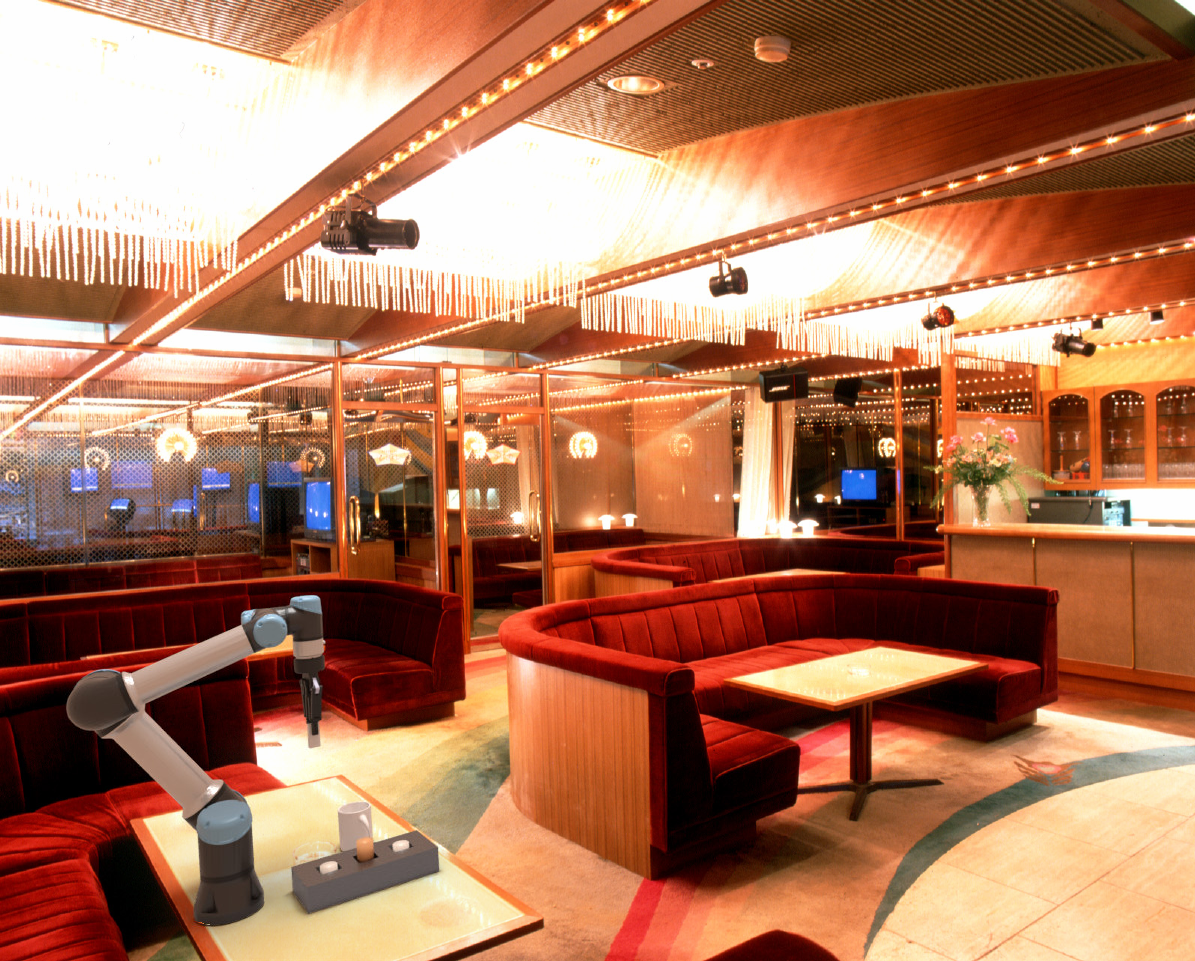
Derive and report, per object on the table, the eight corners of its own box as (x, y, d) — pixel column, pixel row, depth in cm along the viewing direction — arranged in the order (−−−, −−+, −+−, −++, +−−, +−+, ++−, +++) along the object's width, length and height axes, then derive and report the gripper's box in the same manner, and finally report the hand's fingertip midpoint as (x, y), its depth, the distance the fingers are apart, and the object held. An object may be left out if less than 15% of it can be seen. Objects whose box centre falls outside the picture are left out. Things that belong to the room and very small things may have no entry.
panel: (308, 913, 193) (306, 887, 193) (292, 891, 204) (291, 866, 204) (439, 871, 211) (438, 846, 211) (418, 852, 222) (416, 830, 222)
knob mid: (360, 865, 205) (359, 845, 205) (355, 860, 208) (354, 840, 208) (376, 861, 207) (375, 840, 207) (371, 855, 210) (369, 835, 210)
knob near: (323, 891, 200) (322, 870, 200) (319, 885, 203) (317, 864, 203) (340, 886, 202) (339, 865, 202) (335, 880, 205) (334, 859, 205)
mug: (355, 859, 220) (353, 818, 221) (334, 847, 229) (332, 808, 229) (385, 848, 226) (382, 808, 226) (363, 837, 235) (361, 798, 235)
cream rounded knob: (397, 868, 210) (395, 848, 210) (391, 862, 213) (390, 843, 213) (412, 863, 212) (411, 843, 212) (406, 858, 215) (405, 838, 215)
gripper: (330, 656, 216) (336, 748, 216) (316, 650, 227) (322, 738, 227) (300, 661, 212) (306, 755, 212) (287, 654, 223) (293, 744, 223)
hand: (314, 746), depth 219 cm, fingers closed
